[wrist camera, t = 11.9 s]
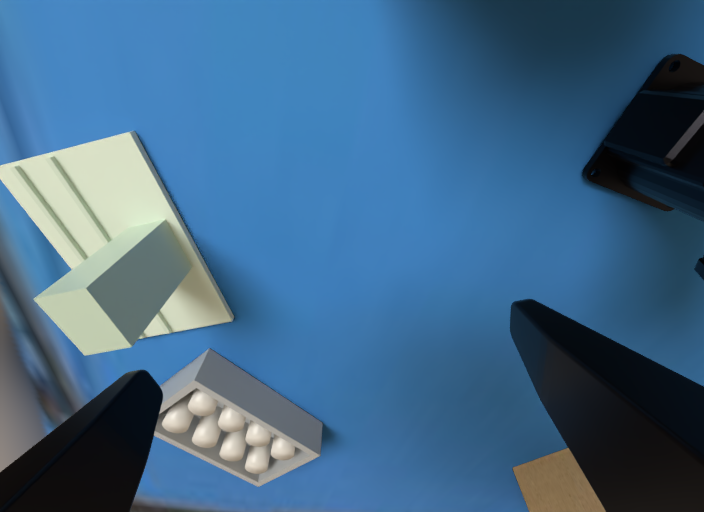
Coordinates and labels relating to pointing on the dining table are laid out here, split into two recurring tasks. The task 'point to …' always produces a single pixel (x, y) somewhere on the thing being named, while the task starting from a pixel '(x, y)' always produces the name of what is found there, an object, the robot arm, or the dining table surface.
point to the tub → (235, 421)
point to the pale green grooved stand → (114, 245)
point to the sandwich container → (556, 485)
